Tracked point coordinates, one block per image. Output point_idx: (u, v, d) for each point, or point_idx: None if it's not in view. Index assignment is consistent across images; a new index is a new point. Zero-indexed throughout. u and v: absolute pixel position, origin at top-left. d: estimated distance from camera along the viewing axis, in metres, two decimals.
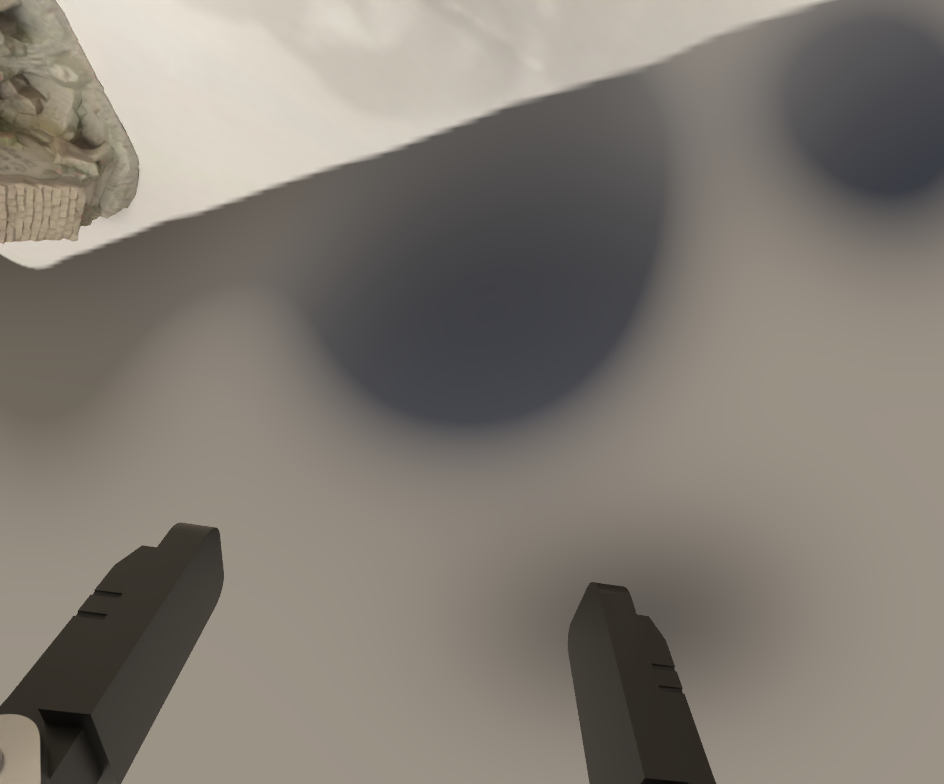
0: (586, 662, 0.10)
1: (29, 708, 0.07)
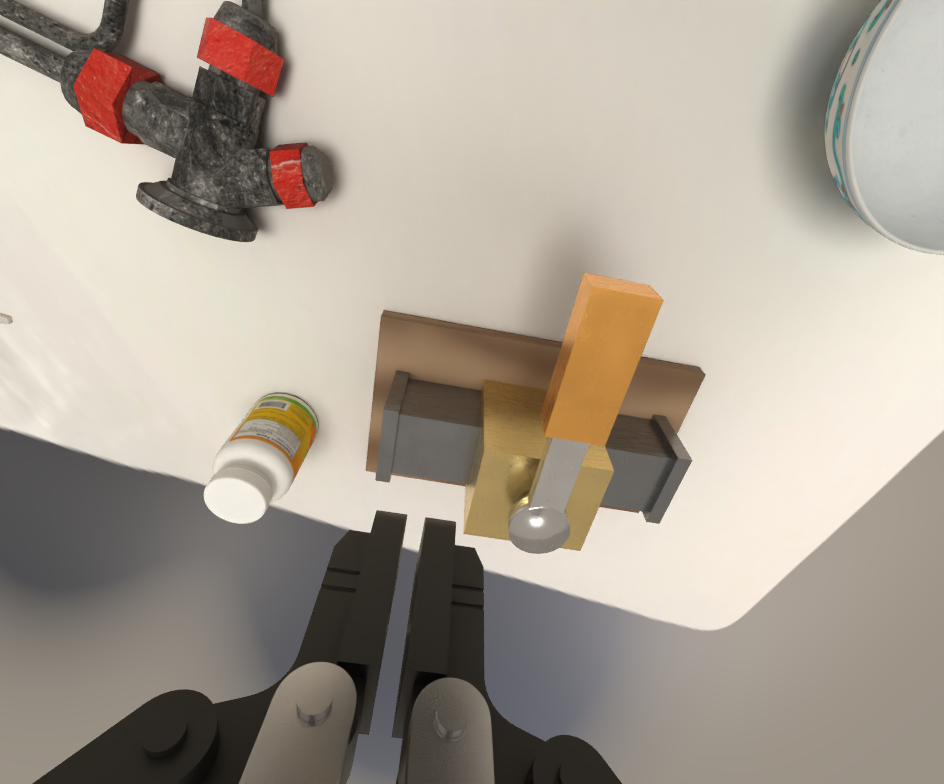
0: (413, 590, 0.11)
1: None
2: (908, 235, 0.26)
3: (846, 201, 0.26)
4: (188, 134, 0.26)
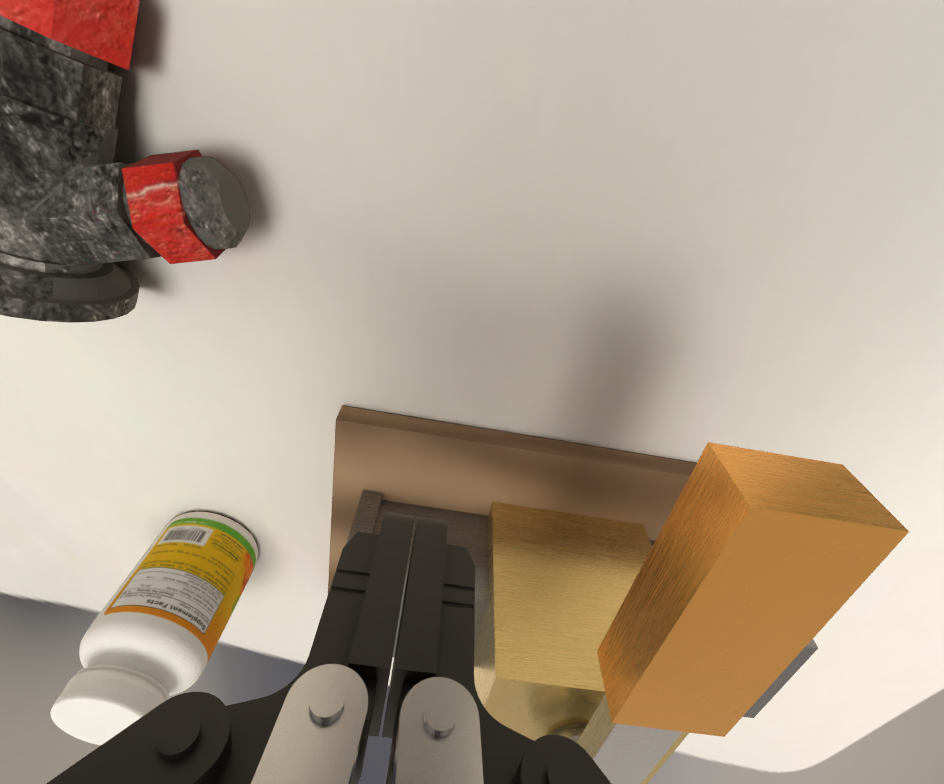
0: (405, 589, 0.11)
1: None
2: None
3: None
4: None
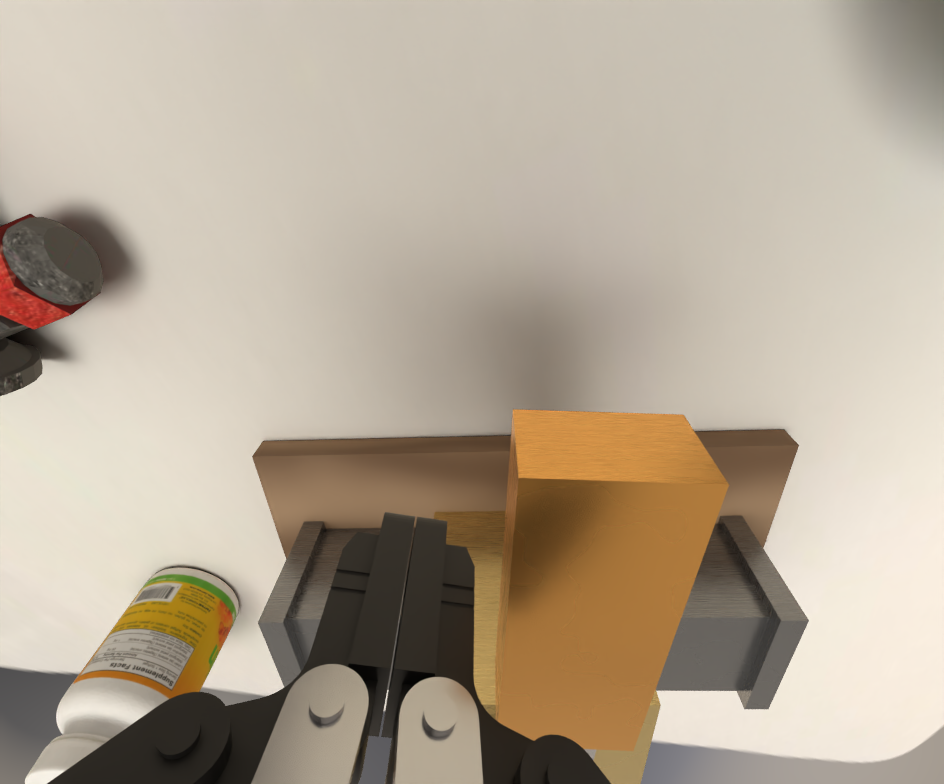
0: None
1: None
2: None
3: None
4: None
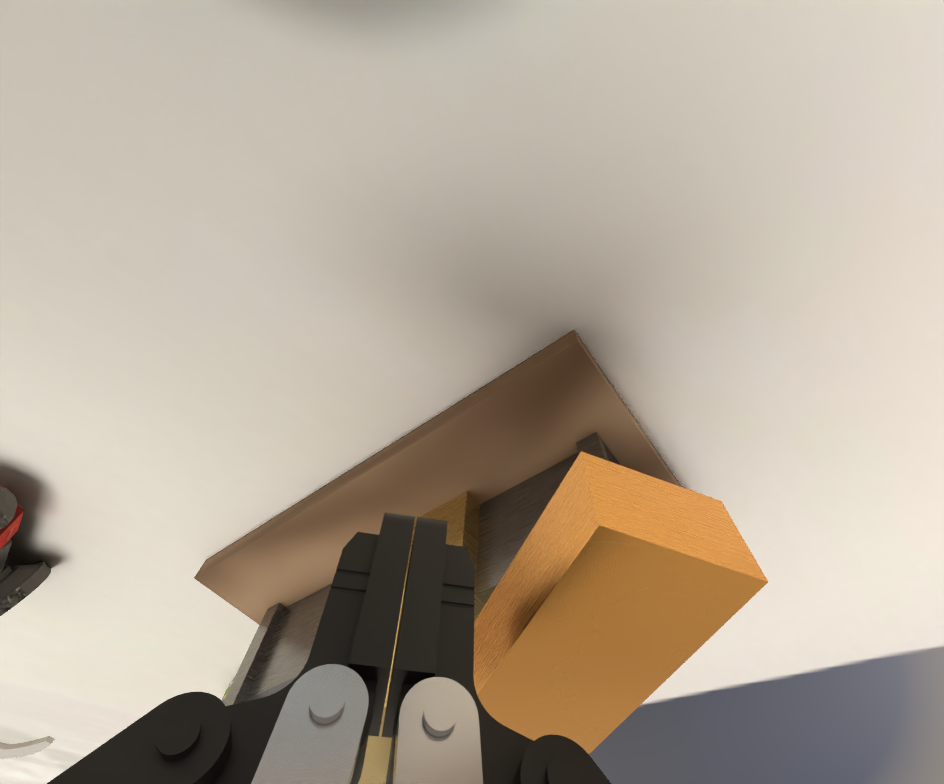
0: None
1: None
2: None
3: None
4: None
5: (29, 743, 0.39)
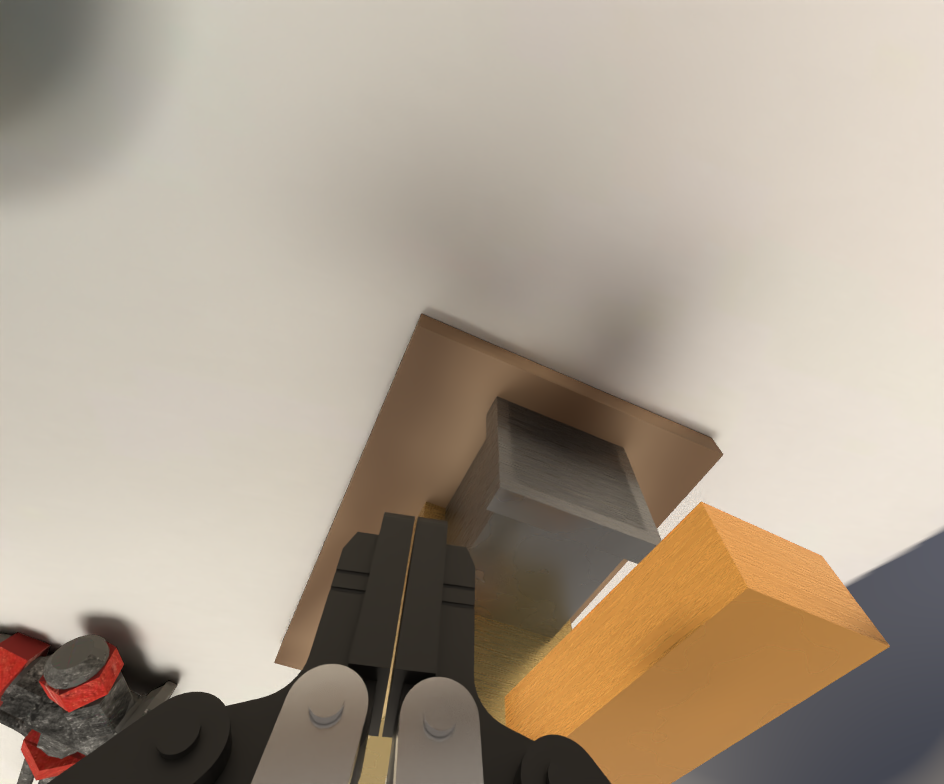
0: (405, 589, 0.11)
1: None
2: None
3: None
4: None
5: None
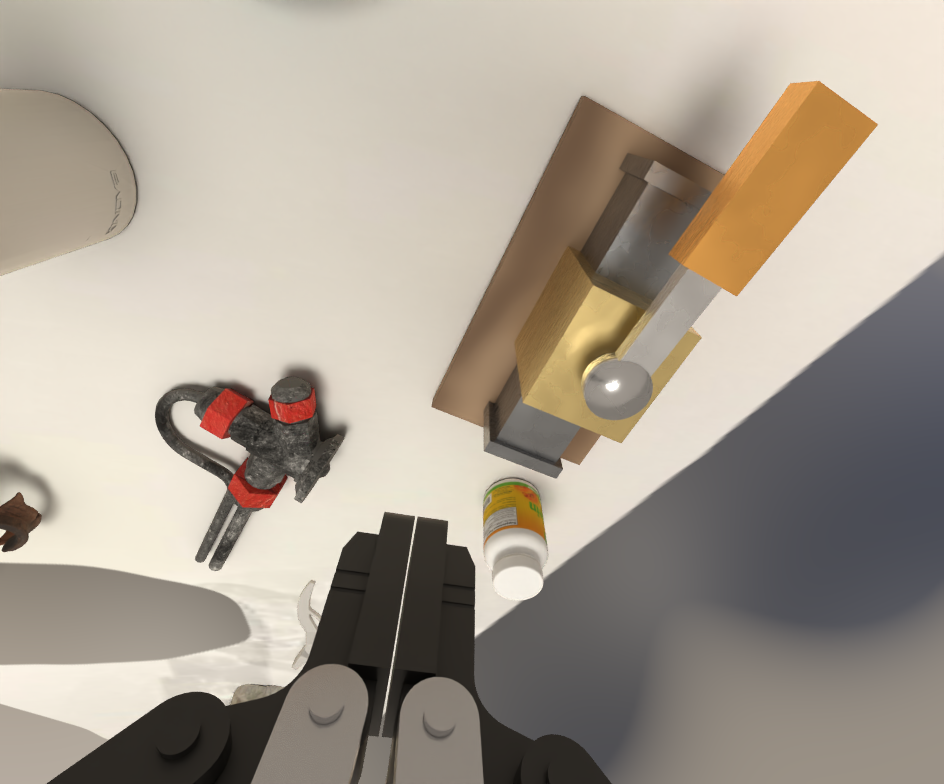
0: (405, 589, 0.11)
1: None
2: None
3: None
4: (264, 460, 0.40)
5: None
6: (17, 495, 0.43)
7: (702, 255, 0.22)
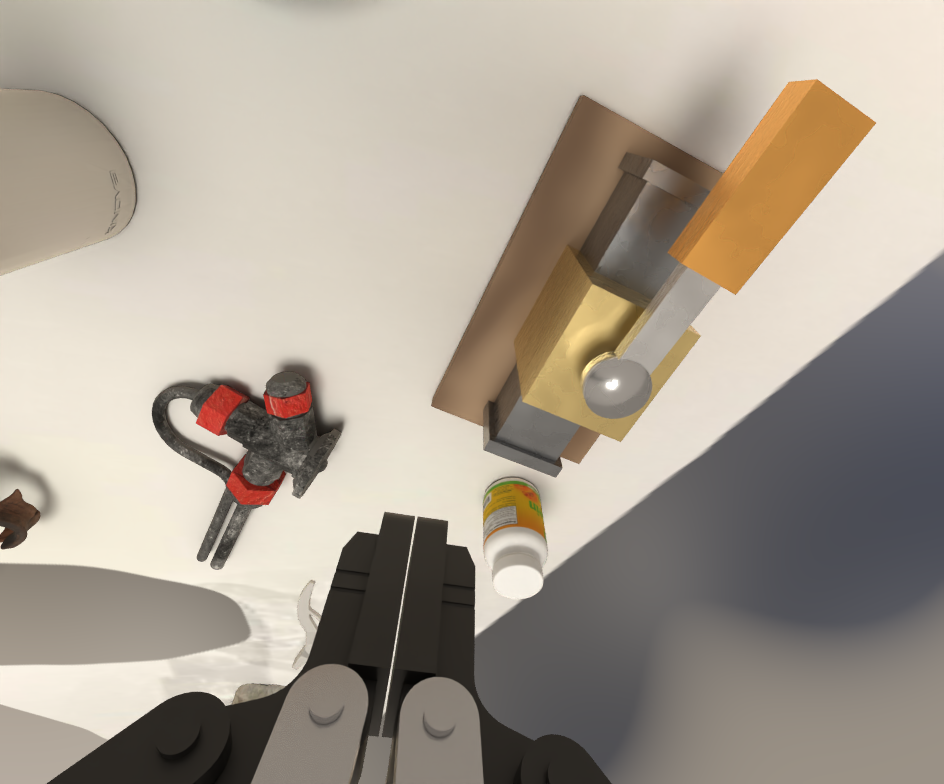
0: (405, 589, 0.11)
1: None
2: None
3: None
4: (261, 456, 0.40)
5: None
6: (15, 492, 0.43)
7: (701, 253, 0.22)
